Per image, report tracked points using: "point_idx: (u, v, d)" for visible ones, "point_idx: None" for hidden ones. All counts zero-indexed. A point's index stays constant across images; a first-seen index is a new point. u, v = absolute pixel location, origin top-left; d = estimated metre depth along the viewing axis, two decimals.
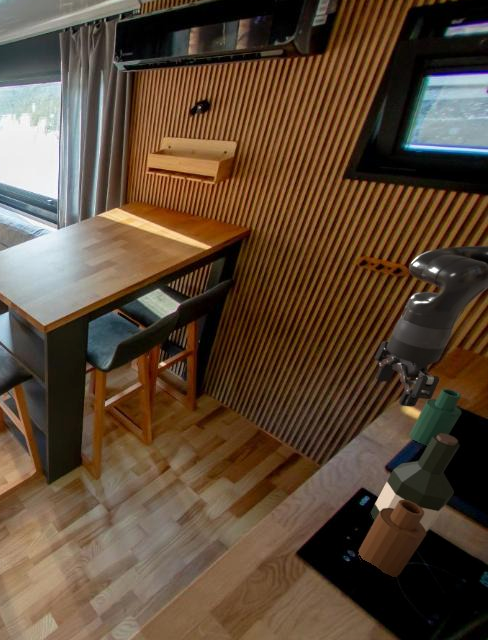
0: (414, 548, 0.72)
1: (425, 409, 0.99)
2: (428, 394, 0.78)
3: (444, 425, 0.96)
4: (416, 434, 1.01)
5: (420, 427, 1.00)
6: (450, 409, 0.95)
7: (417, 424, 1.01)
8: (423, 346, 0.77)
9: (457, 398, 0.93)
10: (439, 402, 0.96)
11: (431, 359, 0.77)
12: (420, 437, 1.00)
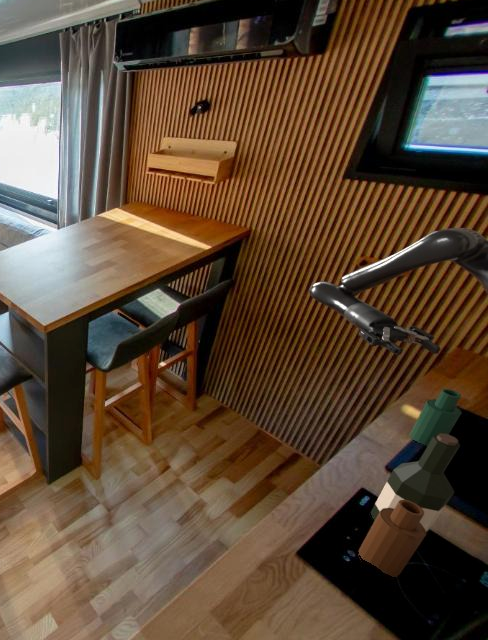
0: (414, 548, 0.72)
1: (425, 409, 0.99)
2: None
3: (444, 425, 0.96)
4: (416, 434, 1.01)
5: (420, 427, 1.00)
6: (450, 409, 0.95)
7: (417, 424, 1.01)
8: (353, 322, 1.16)
9: (457, 398, 0.93)
10: (439, 402, 0.96)
11: (365, 323, 1.12)
12: (420, 437, 1.00)
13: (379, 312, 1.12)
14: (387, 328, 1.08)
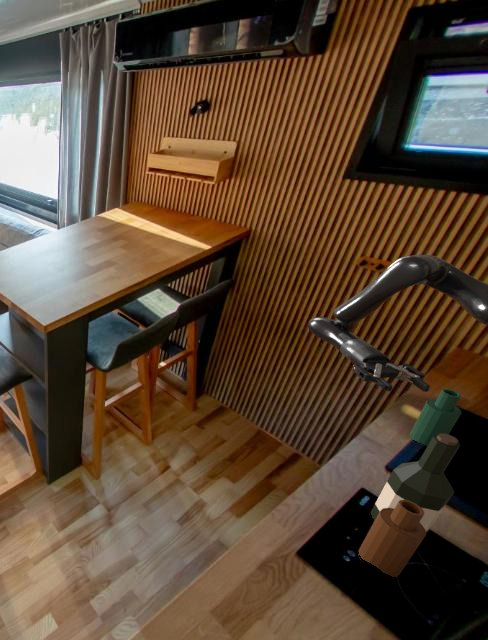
0: (414, 548, 0.72)
1: (425, 409, 0.99)
2: None
3: (444, 425, 0.96)
4: (416, 434, 1.01)
5: (420, 427, 1.00)
6: (450, 409, 0.95)
7: (417, 424, 1.01)
8: (348, 357, 1.21)
9: (457, 398, 0.93)
10: (439, 402, 0.96)
11: (358, 359, 1.17)
12: (420, 437, 1.00)
13: (373, 349, 1.16)
14: (379, 365, 1.12)
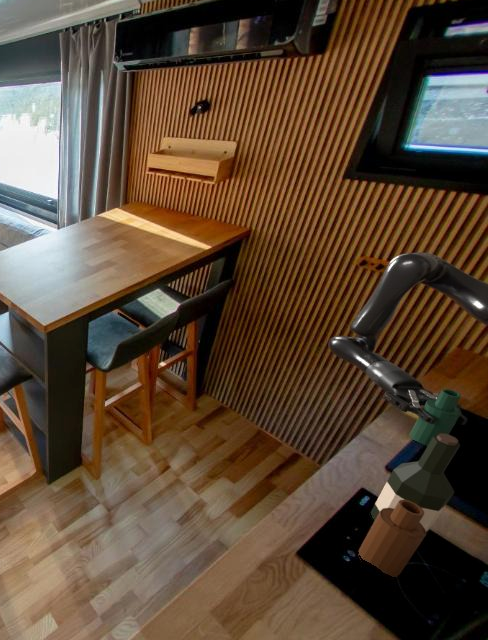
0: (414, 548, 0.72)
1: (425, 409, 0.99)
2: None
3: (444, 425, 0.96)
4: (416, 434, 1.01)
5: (420, 427, 1.00)
6: (450, 409, 0.95)
7: (417, 424, 1.01)
8: (376, 381, 1.11)
9: (457, 398, 0.93)
10: (439, 402, 0.96)
11: (388, 384, 1.08)
12: (420, 437, 1.00)
13: (403, 373, 1.07)
14: (412, 391, 1.03)
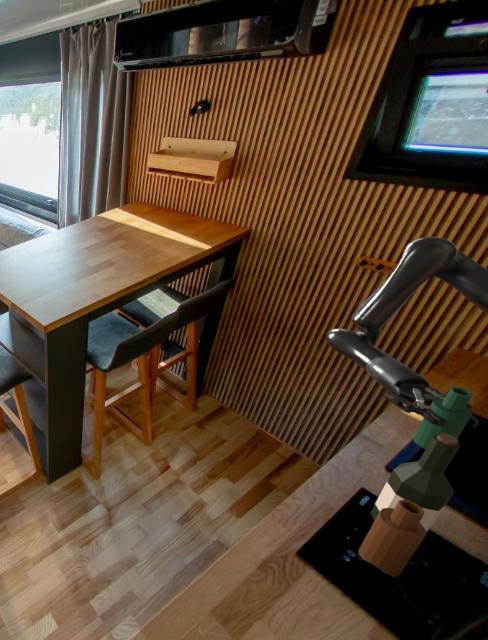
0: (414, 548, 0.72)
1: (431, 410, 0.88)
2: None
3: (453, 428, 0.85)
4: (421, 438, 0.91)
5: (425, 430, 0.89)
6: (460, 410, 0.84)
7: (422, 426, 0.90)
8: (376, 379, 1.01)
9: (468, 398, 0.82)
10: (447, 402, 0.85)
11: (389, 382, 0.97)
12: (425, 441, 0.90)
13: (407, 369, 0.96)
14: (416, 390, 0.92)
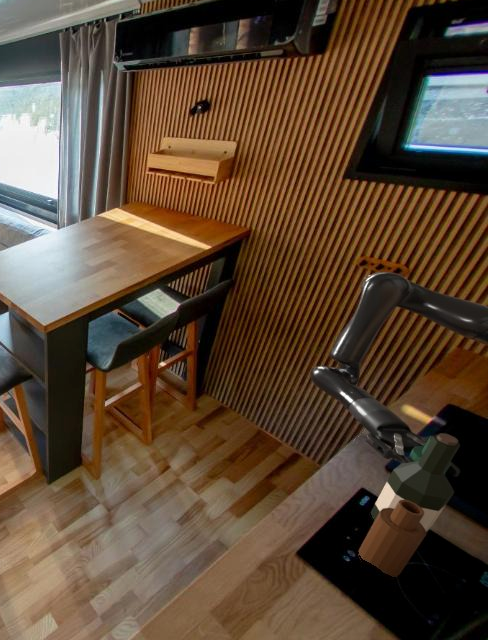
0: (414, 548, 0.72)
1: (411, 458, 0.88)
2: None
3: None
4: None
5: None
6: None
7: None
8: (359, 421, 1.01)
9: None
10: None
11: (372, 425, 0.97)
12: None
13: (389, 413, 0.96)
14: (398, 435, 0.92)
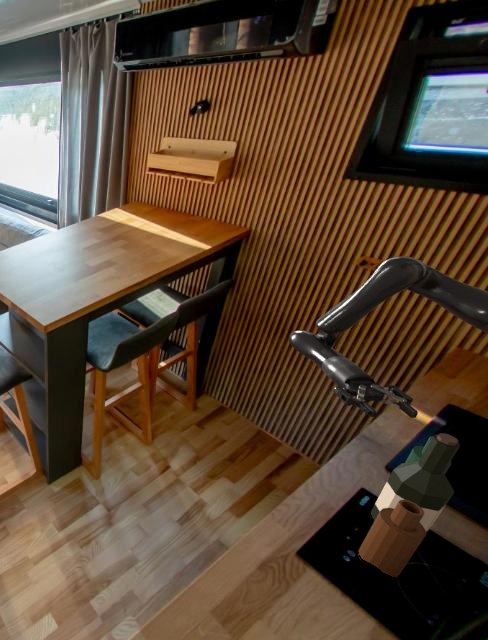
0: (414, 548, 0.72)
1: (411, 458, 0.88)
2: None
3: None
4: None
5: None
6: None
7: None
8: (330, 377, 1.10)
9: None
10: None
11: (340, 379, 1.06)
12: None
13: (356, 368, 1.06)
14: (363, 386, 1.02)
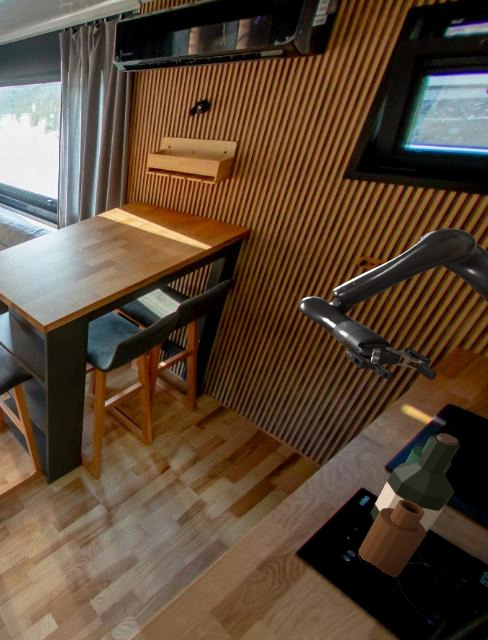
0: (414, 548, 0.72)
1: (411, 458, 0.88)
2: None
3: None
4: None
5: None
6: None
7: None
8: (342, 342, 1.05)
9: None
10: None
11: (353, 343, 1.01)
12: None
13: (370, 331, 1.00)
14: (377, 349, 0.96)
